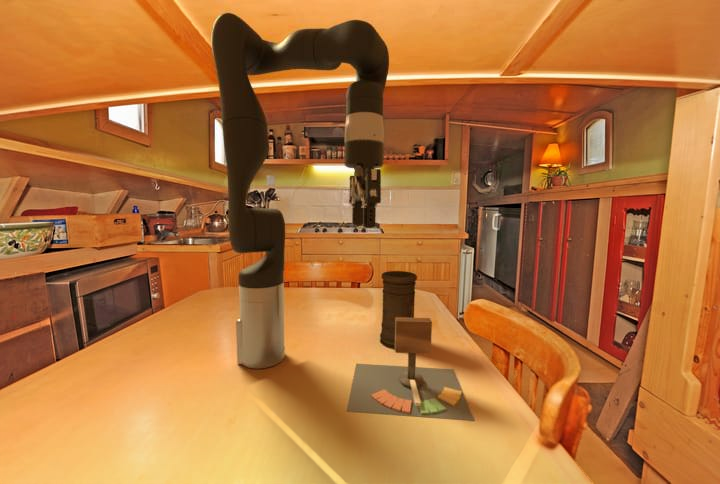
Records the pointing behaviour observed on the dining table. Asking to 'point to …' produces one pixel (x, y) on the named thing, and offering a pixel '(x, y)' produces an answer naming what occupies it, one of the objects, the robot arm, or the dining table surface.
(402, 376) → the peg knob
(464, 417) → the dial board
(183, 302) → the dining table surface
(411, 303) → the container
